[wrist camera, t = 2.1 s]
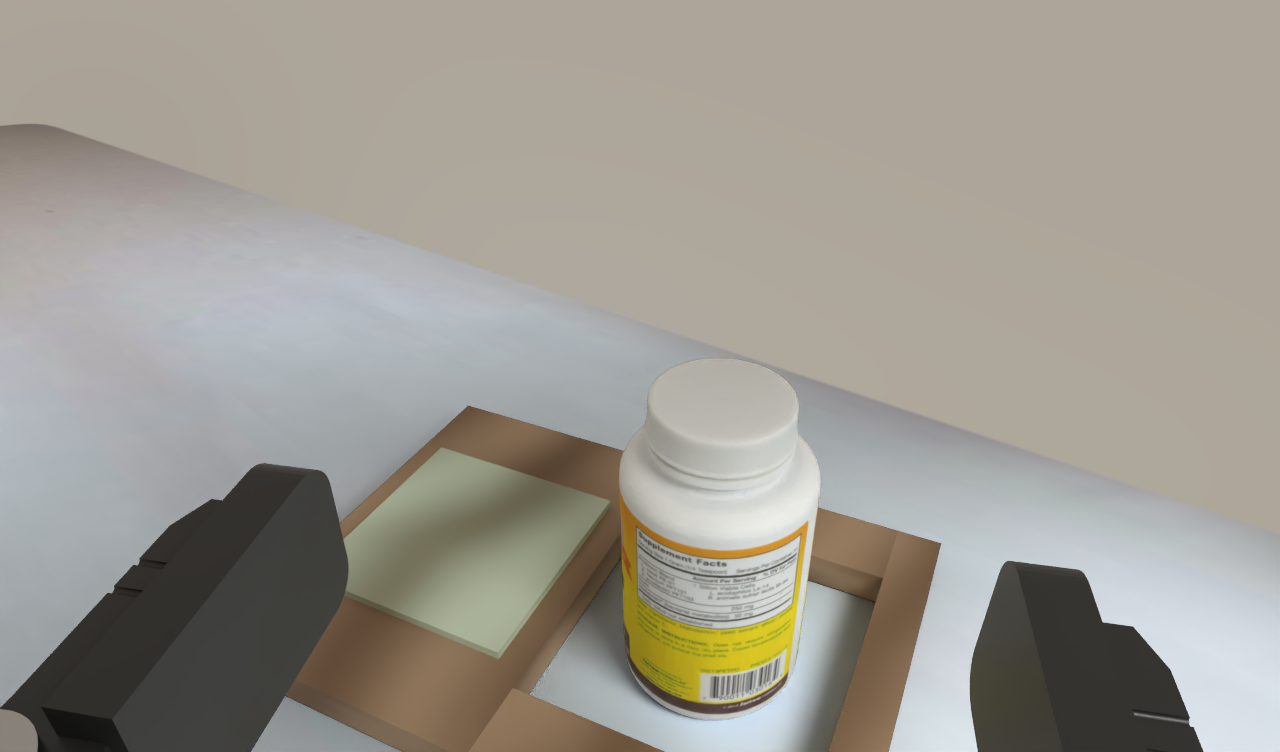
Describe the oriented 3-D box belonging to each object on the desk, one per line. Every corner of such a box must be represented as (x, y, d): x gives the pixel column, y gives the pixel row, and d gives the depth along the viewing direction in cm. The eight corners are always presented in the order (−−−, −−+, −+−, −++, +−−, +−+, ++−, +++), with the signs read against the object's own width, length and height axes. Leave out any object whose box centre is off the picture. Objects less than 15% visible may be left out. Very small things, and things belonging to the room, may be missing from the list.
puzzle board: (935, 567, 31) (942, 537, 30) (835, 958, 21) (843, 927, 20) (471, 427, 38) (467, 400, 38) (222, 665, 28) (209, 633, 27)
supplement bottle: (680, 567, 31) (688, 321, 26) (823, 635, 29) (866, 378, 23) (588, 674, 28) (573, 413, 22) (743, 764, 25) (771, 494, 19)
